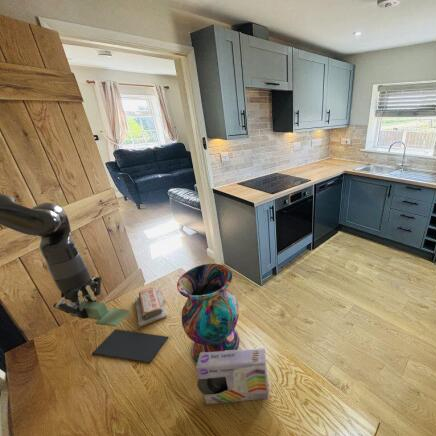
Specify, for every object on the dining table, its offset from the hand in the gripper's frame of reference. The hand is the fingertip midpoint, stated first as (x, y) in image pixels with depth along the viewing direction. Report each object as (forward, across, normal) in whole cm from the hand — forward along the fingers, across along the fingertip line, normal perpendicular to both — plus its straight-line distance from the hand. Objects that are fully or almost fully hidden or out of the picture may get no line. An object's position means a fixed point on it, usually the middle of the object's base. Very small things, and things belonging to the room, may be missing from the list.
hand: (89, 313), depth 76 cm
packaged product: (+18, -20, +2) cm, 27 cm away
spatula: (+1, 0, +3) cm, 3 cm away
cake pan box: (+18, +7, +50) cm, 54 cm away
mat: (+18, -3, +7) cm, 19 cm away
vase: (+18, -8, +37) cm, 42 cm away
